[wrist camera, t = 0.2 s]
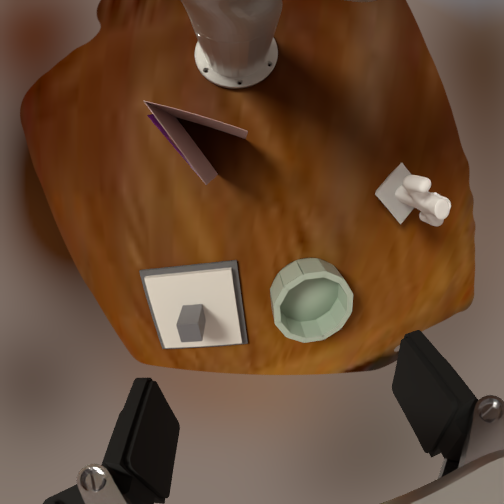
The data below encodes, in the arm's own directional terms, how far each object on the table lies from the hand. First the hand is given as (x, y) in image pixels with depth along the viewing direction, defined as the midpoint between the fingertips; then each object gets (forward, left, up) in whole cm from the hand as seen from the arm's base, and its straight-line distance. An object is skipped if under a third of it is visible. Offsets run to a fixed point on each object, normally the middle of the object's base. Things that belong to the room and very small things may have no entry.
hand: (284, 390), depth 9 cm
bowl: (+16, +8, -36) cm, 41 cm away
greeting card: (-12, -5, -37) cm, 39 cm away
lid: (+17, -12, -36) cm, 41 cm away
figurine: (-1, +24, -37) cm, 44 cm away
